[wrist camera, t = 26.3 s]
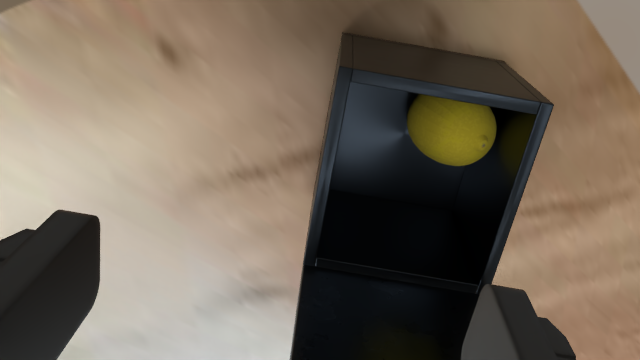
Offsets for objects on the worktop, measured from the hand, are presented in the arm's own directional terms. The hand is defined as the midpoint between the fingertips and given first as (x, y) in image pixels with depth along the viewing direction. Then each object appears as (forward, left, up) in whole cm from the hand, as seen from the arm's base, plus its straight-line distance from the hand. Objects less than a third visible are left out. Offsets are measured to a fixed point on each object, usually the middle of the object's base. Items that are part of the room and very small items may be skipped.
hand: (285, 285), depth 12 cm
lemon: (+4, +8, -33) cm, 34 cm away
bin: (+7, +7, -34) cm, 36 cm away
